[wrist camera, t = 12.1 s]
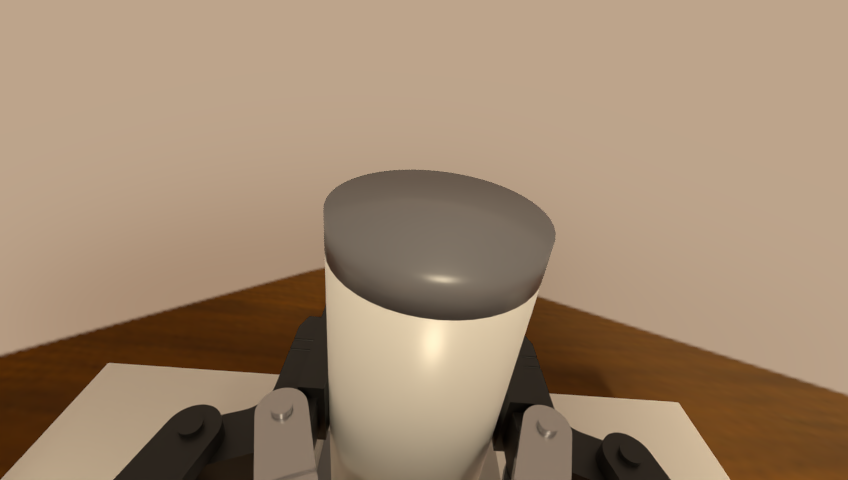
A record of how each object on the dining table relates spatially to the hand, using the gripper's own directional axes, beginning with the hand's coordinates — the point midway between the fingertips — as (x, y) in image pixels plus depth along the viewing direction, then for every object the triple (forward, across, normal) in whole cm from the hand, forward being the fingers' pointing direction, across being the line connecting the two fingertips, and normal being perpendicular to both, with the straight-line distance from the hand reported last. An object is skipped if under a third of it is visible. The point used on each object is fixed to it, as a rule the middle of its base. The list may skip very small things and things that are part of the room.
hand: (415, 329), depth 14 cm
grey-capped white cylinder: (-3, 0, +8) cm, 8 cm away
